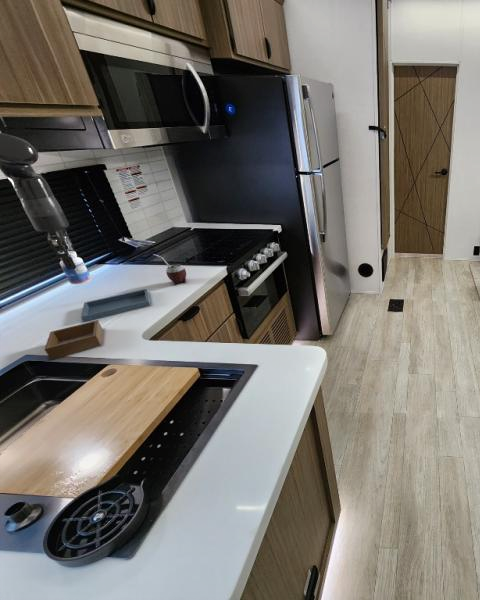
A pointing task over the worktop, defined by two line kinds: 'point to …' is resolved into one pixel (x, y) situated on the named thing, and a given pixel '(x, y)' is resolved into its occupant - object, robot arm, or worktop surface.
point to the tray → (115, 305)
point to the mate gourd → (175, 272)
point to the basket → (77, 345)
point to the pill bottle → (76, 270)
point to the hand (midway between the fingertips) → (73, 265)
